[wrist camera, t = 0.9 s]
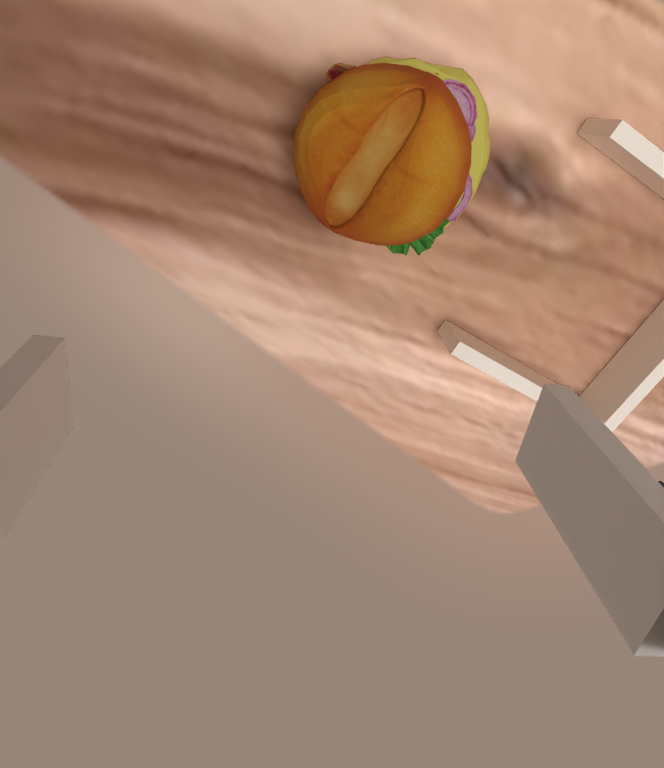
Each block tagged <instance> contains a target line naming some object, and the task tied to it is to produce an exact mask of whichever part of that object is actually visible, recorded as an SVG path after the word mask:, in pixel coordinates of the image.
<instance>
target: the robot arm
mask: <svg viewBox="0 0 664 768" xmlns="http://www.w3.org/2000/svg"><path fill="white" fill-rule="evenodd" d="M73 427H74V426H73V416H72V405H71V394H70V384H69V373H68V363H67V352H66V342H65V338H60V337H50V336H39V335H33V336H32V337H31V338H30V339H29V340H28V341H27V342H26V343H25V344H24V345H23V346H22V347H21V348H20V349H19V350H18V351H17V352H16V353H15V354H14V355H13V356H12V357H11V358H10V359H9V360H8V361H7V362H6V363H5V364H4V365H3V366H2V367H1V368H0V546H1V544H2V543H3V541H4V539H5V538H6V536H7V534H8V533H9V531H10V530H11V528H12V526H13V525H14V523H15V521H16V520H17V518H18V517H19V515H20V513H21V512H22V510H23V509H24V507H25V505H26V504H27V502H28V501H29V499H30V497H31V496H32V494H33V493H34V491H35V489H36V488H37V486H38V484H39V483H40V481H41V480H42V478H43V476H44V475H45V473H46V471H47V470H48V468H49V467H50V465H51V463H52V462H53V460H54V459H55V457H56V455H57V454H58V452H59V451H60V449H61V447H62V446H63V444H64V443H65V441H66V439H67V438H68V436H69V434H70V433H71V431H72V430H73ZM516 463H517V464H518V466H519V468H520V469H521V471H522V472H523V474H524V476H525V477H526V479H527V481H528V482H529V484H530V486H531V487H532V489H533V491H534V492H535V494H536V495H537V497H538V499H539V500H540V502H541V504H542V505H543V507H544V509H545V510H546V512H547V514H548V515H549V517H550V518H551V520H552V522H553V523H554V525H555V527H556V528H557V530H558V532H559V533H560V535H561V537H562V538H563V540H564V541H565V543H566V545H567V546H568V548H569V550H570V551H571V553H572V554H573V556H574V558H575V559H576V561H577V563H578V564H579V566H580V568H581V569H582V571H583V573H584V574H585V576H586V578H587V579H588V581H589V582H590V584H591V586H592V587H593V589H594V591H595V592H596V594H597V596H598V597H599V599H600V600H601V602H602V604H603V605H604V607H605V609H606V610H607V612H608V614H609V615H610V617H611V619H612V620H613V622H614V624H615V625H616V627H617V628H618V630H619V632H620V633H621V635H622V637H623V638H624V640H625V642H626V643H627V645H628V646H629V648H630V650H631V651H632V653H633V655H634V656H664V483H663V482H661V481H657V480H656V479H655V478H654V477H653V476H652V474H651V473H650V472H649V471H648V470H647V469H646V468H645V467H644V466H643V465H642V464H641V463H640V462H639V461H638V459H637V458H636V457H635V456H634V455H633V454H632V453H631V452H630V451H629V450H628V449H627V448H626V447H625V446H624V445H623V443H622V442H621V441H620V440H619V439H618V438H617V437H616V436H615V435H614V434H613V433H612V432H611V431H610V430H609V429H608V427H607V426H606V425H605V424H604V423H603V422H602V421H601V420H600V419H599V418H598V417H597V416H596V415H595V414H594V413H593V411H592V410H591V409H590V408H589V407H588V406H587V405H586V404H585V403H584V402H583V401H582V400H581V399H580V398H579V397H578V395H577V394H576V393H575V392H574V391H573V390H572V389H571V388H570V387H569V386H563V385H552V384H544V385H543V388H542V390H541V393H540V396H539V398H538V401H537V404H536V407H535V409H534V412H533V415H532V417H531V420H530V423H529V426H528V428H527V431H526V434H525V436H524V439H523V442H522V444H521V447H520V450H519V453H518V455H517V458H516Z"/></svg>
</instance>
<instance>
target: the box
mask: <svg viewBox="0 0 664 768" xmlns="http://www.w3.org/2000/svg"><path fill="white" fill-rule="evenodd" d="M577 134H578V135H579V136H581V137H582V138H583V139H585V140H586V141H587V142H589V143H590V144H591V145H593V146H594V147H595V148H597V149H598V150H599V151H601V152H602V153H603V154H605V155H606V156H607V157H609V158H610V159H611V160H613V161H614V162H615V163H617V164H618V165H619V166H621V167H622V168H623V169H625V170H626V171H627V172H629V173H630V174H631V175H633V176H634V177H635V178H637V179H638V180H639V181H641V182H642V183H643V184H645V185H646V186H647V187H649V188H650V189H651V190H653V191H654V192H655V193H657V194H658V195H659V196H661V197H662V198H663V199H664V152H663V151H661V150H660V149H659V148H658V147H656V146H655V145H654V144H652V143H651V142H650V141H649V140H647V139H646V138H645V137H644V136H642V135H641V134H640V133H639V132H637V131H636V130H635V129H633V128H632V127H631V126H630V125H628V124H627V123H626V122H625V121H623V120H616V119H597V118H587V120H586V121H585V123H584V124H583V125H582V127H581V128H580V130H579V131H578V132H577ZM437 332H438V334H439V335H440V337H441V339H442V340H443V342H444V343H445V345H446V347H447V348H448V350H449V352H450V353H451V354H452V355H454V356H456V357H457V358H459V359H461V360H463V361H465V362H466V363H468V364H470V365H472V366H474V367H475V368H477V369H479V370H481V371H483V372H485V373H486V374H488V375H490V376H492V377H494V378H495V379H497V380H499V381H501V382H503V383H504V384H506V385H508V386H510V387H512V388H513V389H515V390H517V391H519V392H521V393H523V394H524V395H526V396H528V397H530V398H532V399H533V400H535V401H538V398H539V396H540V393H541V390H542V388H543V385H544V384H552V385H558V384H556V383H555V382H553V381H551V380H549V379H548V378H546V377H544V376H542V375H541V374H539V373H537V372H535V371H534V370H532V369H530V368H528V367H527V366H525V365H523V364H521V363H520V362H518V361H516V360H514V359H513V358H511V357H509V356H507V355H506V354H504V353H502V352H500V351H499V350H497V349H495V348H493V347H492V346H490V345H488V344H486V343H485V342H483V341H481V340H479V339H478V338H476V337H474V336H473V335H471V334H469V333H467V332H466V331H464V330H462V329H460V328H459V327H457V326H455V325H453V324H452V323H450V322H448V321H446V320H445V321H444V322H443V323H442V325H441V326H440V328H439V329H438V330H437ZM663 377H664V300H663V301H662V302H661V303H660V304H659V305H658V307H657V308H656V309H655V310H654V311H653V312H652V313H651V315H650V316H649V317H648V318H647V319H646V320H645V321H644V323H643V324H642V325H641V326H640V327H639V328H638V329H637V331H636V332H635V333H634V334H633V335H632V336H631V337H630V339H629V340H628V341H627V342H626V343H625V344H624V346H623V347H622V348H621V349H620V350H619V351H618V352H617V354H616V355H615V356H614V357H613V358H612V359H611V360H610V362H609V363H608V364H607V365H606V366H605V367H604V368H603V370H602V371H601V372H600V373H599V374H598V375H597V376H596V378H595V379H594V380H593V381H592V382H591V383H590V384H589V386H588V387H587V388H586V389H585V390H584V391H583V393H582V394H581V395H580V396H578V397H579V398H580V399H581V400H582V401H583V402H584V403H585V404H586V405H587V406H588V407H589V408H590V409H591V410H592V411H593V413H594V414H595V415H596V416H597V417H598V418H599V419H600V420H601V421H602V422H603V423H604V424H605V425H606V426H607V427H608V429H609V430H610V431H611V432H612V431H613V430H614V429H615V428H616V427H617V426H618V425H619V424H620V423H621V422H622V421H623V420H624V419H625V417H626V416H627V415H628V414H629V413H630V412H631V411H632V410H633V409H634V408H635V407H636V406H637V405H638V403H639V402H640V401H641V400H642V399H643V398H644V397H645V396H646V395H647V394H648V393H649V392H650V391H651V389H652V388H653V387H654V386H655V385H656V384H657V383H658V382H659V381H660V380H661V379H662V378H663Z"/></svg>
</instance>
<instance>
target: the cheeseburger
mask: <svg viewBox="0 0 664 768" xmlns="http://www.w3.org/2000/svg"><path fill="white" fill-rule="evenodd" d="M326 78H327V80H328V82H329V83H327V84H326V85H324V86H323V87H322V88H321V89H320V90H319V91H318V92H317V94H316V95H315V96H314V97H313V99H312V100H311V101H310V102H309V103H308V105H307V106H306V107H305V108H304V110H303V112H302V115H301V118H300V121H299V123H298V126H297V129H296V132H295V142H294V164H295V170H296V176H297V179H298V183H299V186H300V190H301V193H302V195H303V197H304V199H305V201H306V203H307V205H308V207H309V209H310V210H311V211H312V213H313V214H314V215H315V216H316V218H317V219H318V220H319V221H320V222H321V223H322V224H323V225H324V226H326V227H327V228H328V229H330V230H332V231H333V232H335V233H337V234H340V235H342V236H345V237H348V238H351V239H353V240H356V241H361V242H366V243H371V244H375V245H385V246H387V247H388V248H389V249H390V251H391V252H392V253H401V254H405V255H407V252H408V249H409V246H410V245H411V246H412V247H413V249H414V250H415V251H416V253H417V254H418V255H420V254H421V252H423V251H425V250H427V249H429V248H431V246H432V244H433V242H434V240H435V238H436V237H438V236H439V235H441V234H443V229H444V228H446V227H447V226H448V225H449V224H450V223H451V222H453V221H454V220H455V219H457V218H458V217H459V216H460V215H461V213H462V212H463V211H464V210H465V209H466V208H467V206H468V205H469V203H470V201H471V200H472V198H473V196H474V194H475V192H476V191H477V188H478V185H479V182H480V180H481V177H482V174H483V173H484V171H485V170H486V166H487V163H488V159H489V153H490V138H489V134H488V124H489V116H488V111H487V107H486V103H485V101H484V99H483V97H482V95H481V92H480V91H479V89H478V87H477V85H476V83H475V82H474V80H473V78H472V77H471V76H470V75H469V74H468V73H467V72H466V71H465V70H464V69H462V68H455V67H447V66H439V65H432V64H430V63H427V62H424V61H421V60H419V59H416V58H407V59H393V58H389V57H384V58H380V59H376V60H372V61H371V62H370V63H369V64H367V65H362V66H359V67H357V66H352V65H347V64H342V63H338V64H335V65H333V66H332V67H331V68H330V69H329V70H328V72H327V73H326Z"/></svg>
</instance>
